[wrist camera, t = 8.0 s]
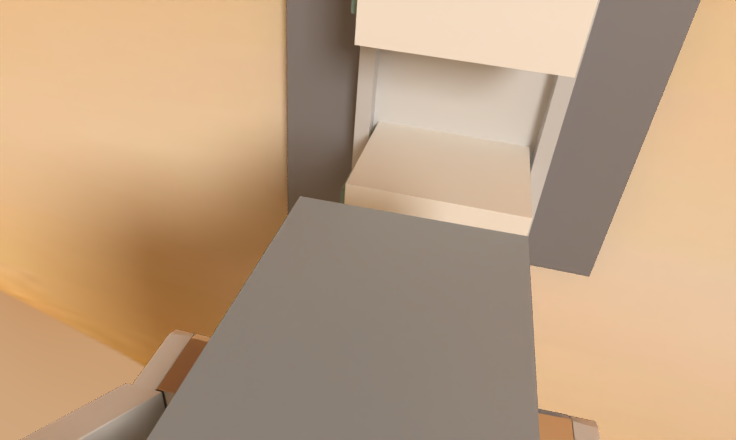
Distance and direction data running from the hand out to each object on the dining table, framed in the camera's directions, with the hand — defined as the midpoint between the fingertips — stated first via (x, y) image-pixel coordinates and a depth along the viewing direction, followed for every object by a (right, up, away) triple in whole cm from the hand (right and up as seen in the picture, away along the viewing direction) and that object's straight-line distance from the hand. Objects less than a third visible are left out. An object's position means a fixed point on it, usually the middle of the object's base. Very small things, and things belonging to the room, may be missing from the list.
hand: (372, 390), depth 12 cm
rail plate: (+5, +12, +17) cm, 22 cm away
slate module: (+1, +2, +3) cm, 4 cm away
